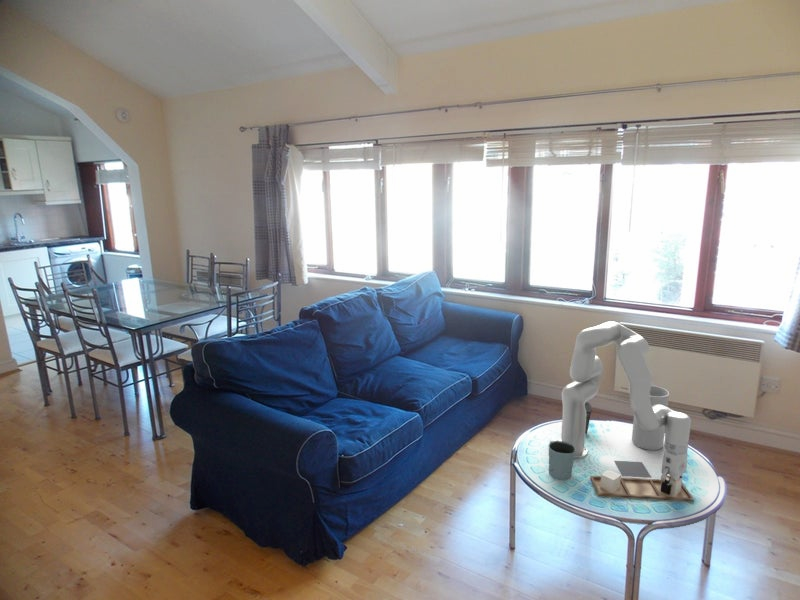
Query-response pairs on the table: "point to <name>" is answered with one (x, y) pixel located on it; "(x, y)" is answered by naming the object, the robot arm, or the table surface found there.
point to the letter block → (675, 486)
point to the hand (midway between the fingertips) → (670, 488)
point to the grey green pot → (561, 459)
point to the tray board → (640, 490)
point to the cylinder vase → (651, 438)
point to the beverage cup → (587, 414)
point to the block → (610, 481)
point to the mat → (632, 469)
